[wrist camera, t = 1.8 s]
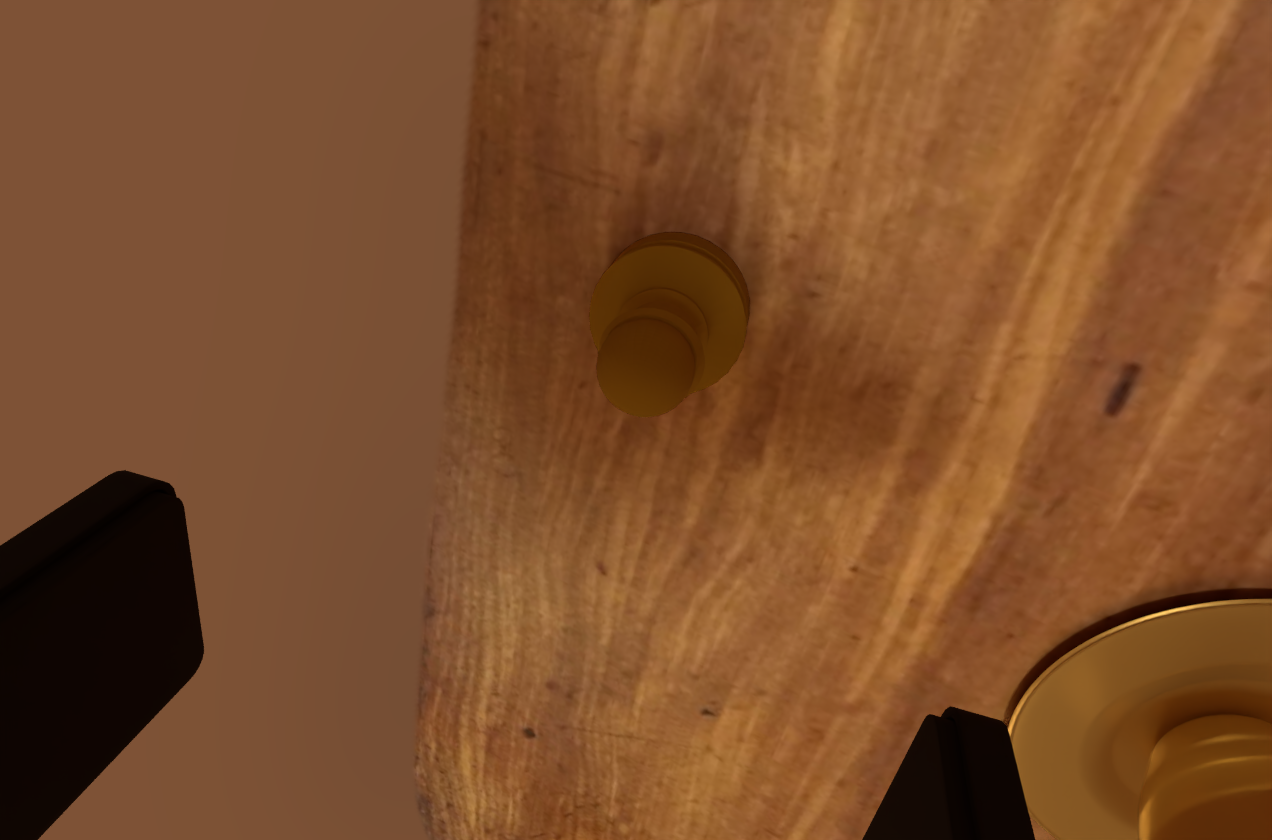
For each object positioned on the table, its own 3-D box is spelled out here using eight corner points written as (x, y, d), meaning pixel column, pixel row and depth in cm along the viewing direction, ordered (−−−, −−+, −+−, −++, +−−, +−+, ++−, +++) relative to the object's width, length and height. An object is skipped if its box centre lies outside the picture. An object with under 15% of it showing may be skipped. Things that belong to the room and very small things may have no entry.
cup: (966, 832, 28) (996, 1003, 23) (1056, 561, 22) (1119, 716, 17) (1357, 904, 26) (1477, 1108, 21) (1570, 624, 20) (1801, 819, 15)
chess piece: (743, 223, 19) (721, 291, 15) (756, 371, 21) (739, 469, 17) (589, 238, 20) (526, 305, 16) (614, 378, 22) (563, 472, 18)
